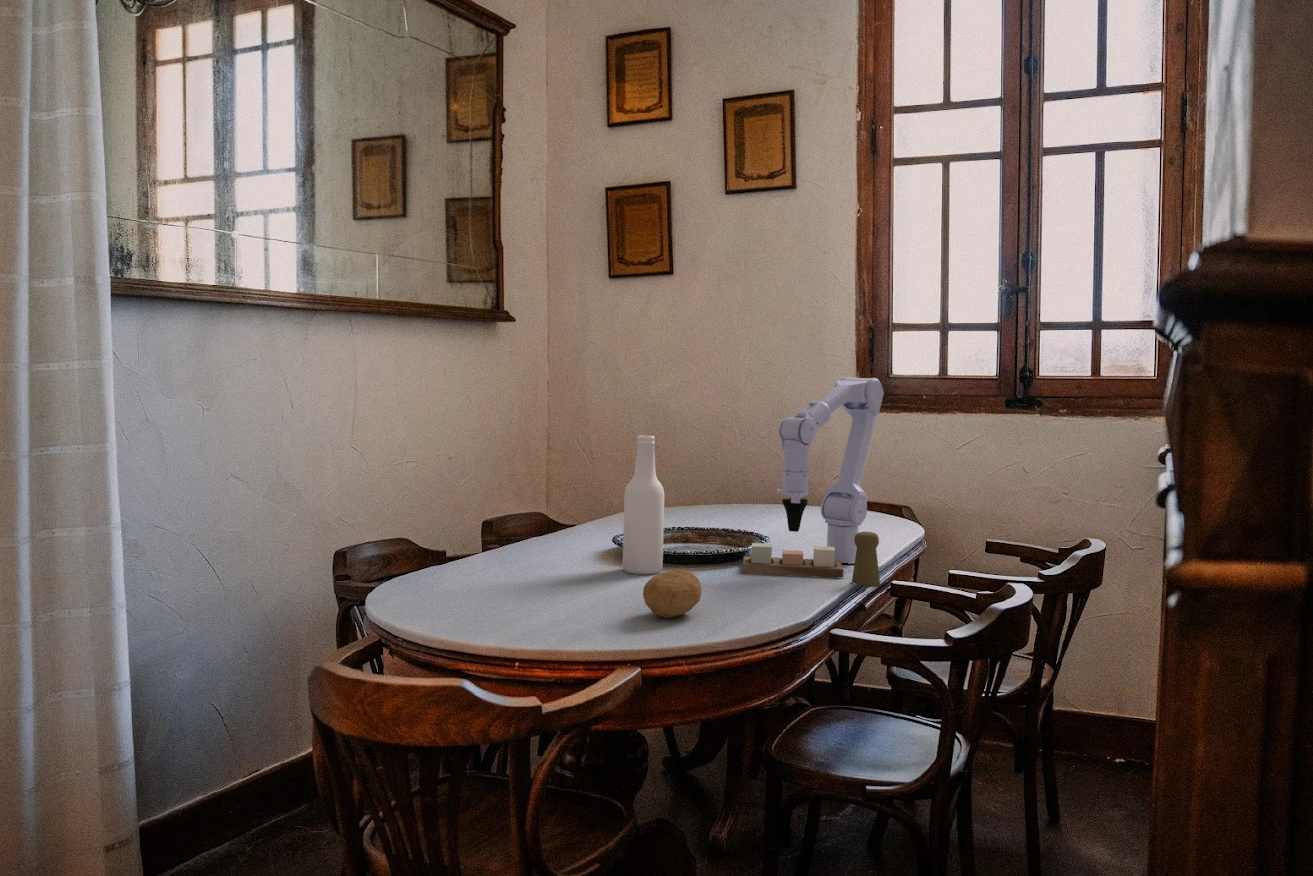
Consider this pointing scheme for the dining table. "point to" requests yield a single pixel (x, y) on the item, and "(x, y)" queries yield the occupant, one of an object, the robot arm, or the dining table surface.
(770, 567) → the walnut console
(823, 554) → the cream button
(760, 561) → the sage button
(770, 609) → the dining table surface
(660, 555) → the alcohol
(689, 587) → the potato
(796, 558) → the terracotta button
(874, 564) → the cork
